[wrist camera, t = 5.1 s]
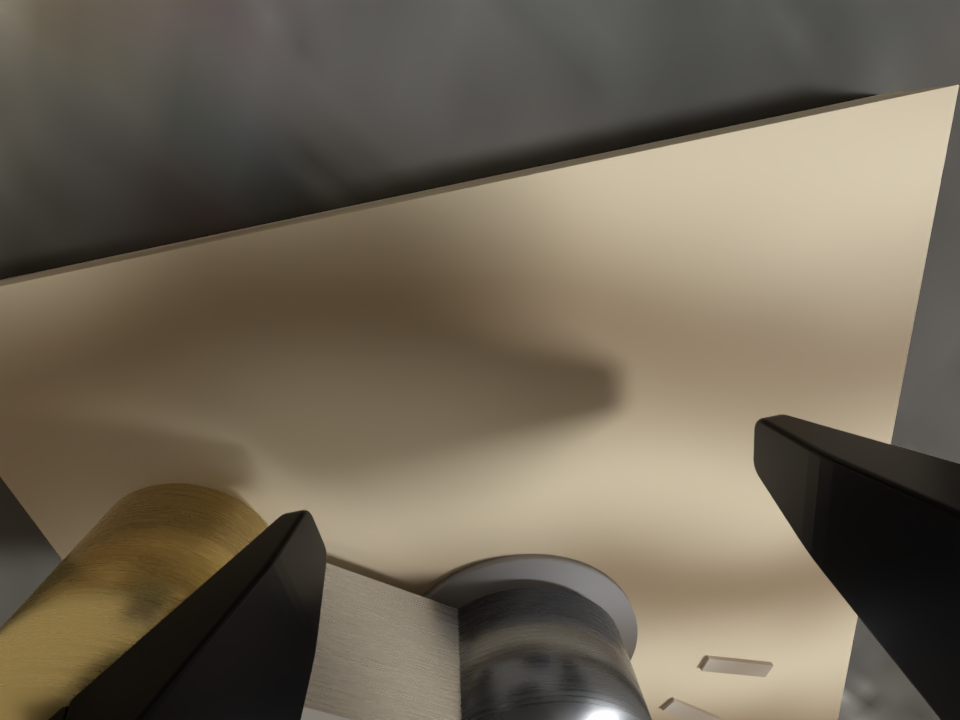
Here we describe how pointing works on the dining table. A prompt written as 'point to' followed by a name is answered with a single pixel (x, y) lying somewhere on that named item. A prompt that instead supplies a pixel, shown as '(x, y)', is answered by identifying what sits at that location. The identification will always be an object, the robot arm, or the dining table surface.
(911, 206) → the board
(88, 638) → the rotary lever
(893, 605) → the robot arm
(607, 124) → the dining table surface
